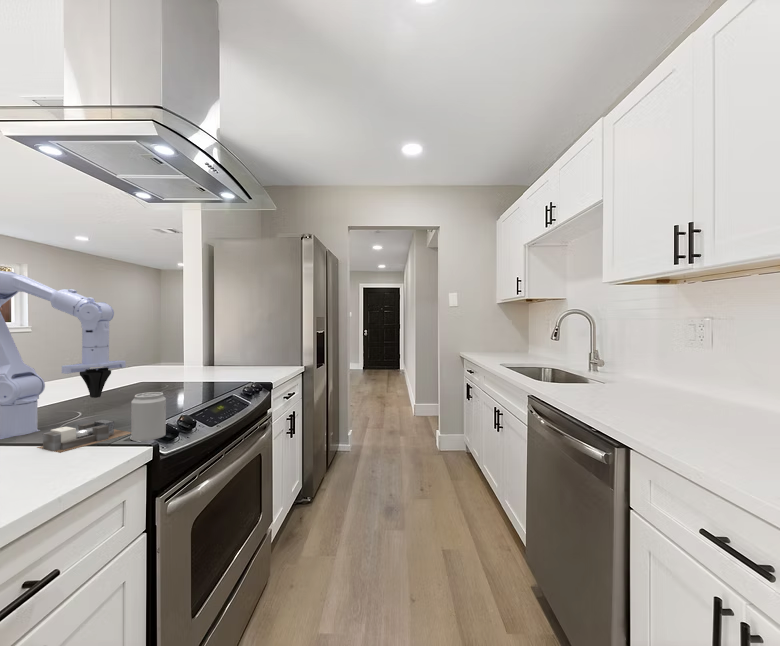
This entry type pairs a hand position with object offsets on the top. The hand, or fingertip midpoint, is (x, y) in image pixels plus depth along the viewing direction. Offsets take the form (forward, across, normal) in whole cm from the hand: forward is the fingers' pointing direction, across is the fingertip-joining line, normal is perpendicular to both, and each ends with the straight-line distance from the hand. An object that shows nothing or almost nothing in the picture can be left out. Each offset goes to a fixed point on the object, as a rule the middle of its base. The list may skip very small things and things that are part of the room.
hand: (95, 397), depth 100 cm
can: (+10, +2, -18) cm, 21 cm away
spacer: (+9, -11, -7) cm, 16 cm away
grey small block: (+9, -5, -7) cm, 12 cm away
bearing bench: (+10, -6, -7) cm, 13 cm away
